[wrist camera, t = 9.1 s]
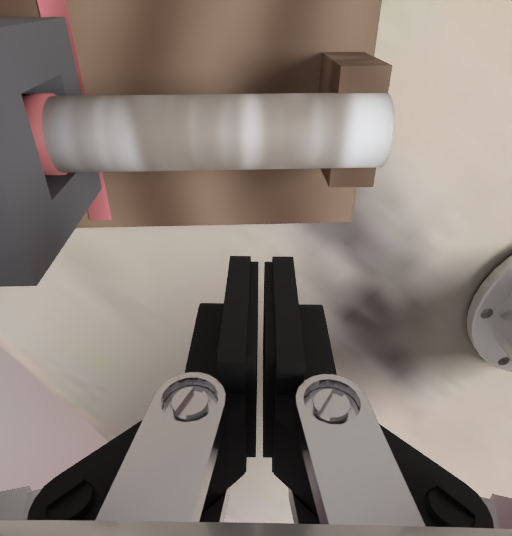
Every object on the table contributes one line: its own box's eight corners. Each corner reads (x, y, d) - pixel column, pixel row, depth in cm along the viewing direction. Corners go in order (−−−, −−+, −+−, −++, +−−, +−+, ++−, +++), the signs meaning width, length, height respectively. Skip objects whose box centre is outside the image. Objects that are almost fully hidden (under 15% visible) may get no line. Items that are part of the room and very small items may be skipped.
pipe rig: (380, -52, 19) (447, -71, 13) (347, 213, 26) (379, 279, 20) (-104, -52, 18) (-267, -72, 12) (-2, 220, 25) (-74, 290, 19)
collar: (65, 17, 19) (-52, 36, 11) (101, 188, 23) (36, 285, 15) (-29, 17, 18) (-211, 36, 11) (26, 189, 23) (-76, 288, 15)
